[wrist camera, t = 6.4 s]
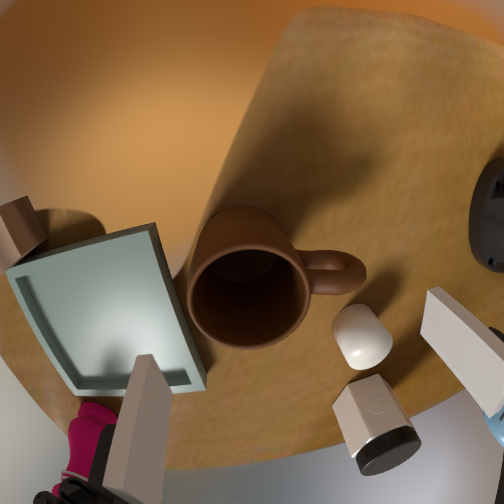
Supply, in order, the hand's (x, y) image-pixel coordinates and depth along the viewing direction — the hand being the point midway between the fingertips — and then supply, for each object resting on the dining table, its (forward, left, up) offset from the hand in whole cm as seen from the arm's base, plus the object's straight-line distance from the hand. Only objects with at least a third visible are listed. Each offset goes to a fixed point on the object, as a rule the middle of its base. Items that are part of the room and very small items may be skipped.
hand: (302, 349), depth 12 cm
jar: (-10, +25, -14) cm, 31 cm away
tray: (+18, +5, -14) cm, 23 cm away
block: (+24, -7, -14) cm, 29 cm away
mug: (0, 0, -14) cm, 14 cm away
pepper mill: (+28, +21, -14) cm, 38 cm away
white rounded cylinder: (-8, +11, -14) cm, 20 cm away
